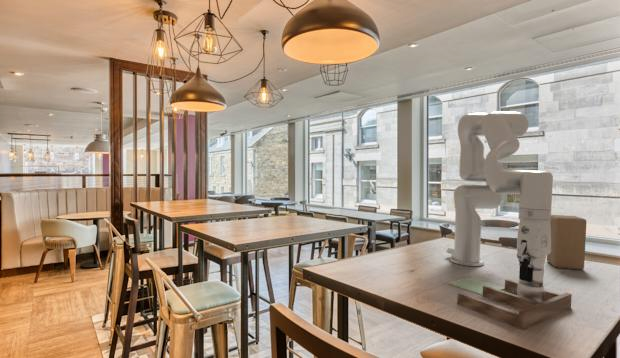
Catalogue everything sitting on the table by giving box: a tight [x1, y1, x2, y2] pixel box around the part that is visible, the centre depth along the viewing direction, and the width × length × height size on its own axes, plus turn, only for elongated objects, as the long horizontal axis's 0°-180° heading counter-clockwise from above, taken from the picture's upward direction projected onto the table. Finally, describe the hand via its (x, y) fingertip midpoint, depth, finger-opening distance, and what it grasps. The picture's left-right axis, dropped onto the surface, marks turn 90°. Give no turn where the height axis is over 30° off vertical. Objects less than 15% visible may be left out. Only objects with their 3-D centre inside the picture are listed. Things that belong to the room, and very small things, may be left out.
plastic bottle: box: [516, 247, 547, 303], centre depth 95 cm, size 6×7×20 cm
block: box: [546, 214, 587, 271], centre depth 136 cm, size 10×10×20 cm
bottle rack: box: [456, 278, 573, 331], centre depth 93 cm, size 17×26×4 cm
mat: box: [447, 276, 506, 296], centre depth 109 cm, size 12×12×1 cm
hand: (531, 278), depth 95 cm, fingers closed on plastic bottle, 5 cm apart
